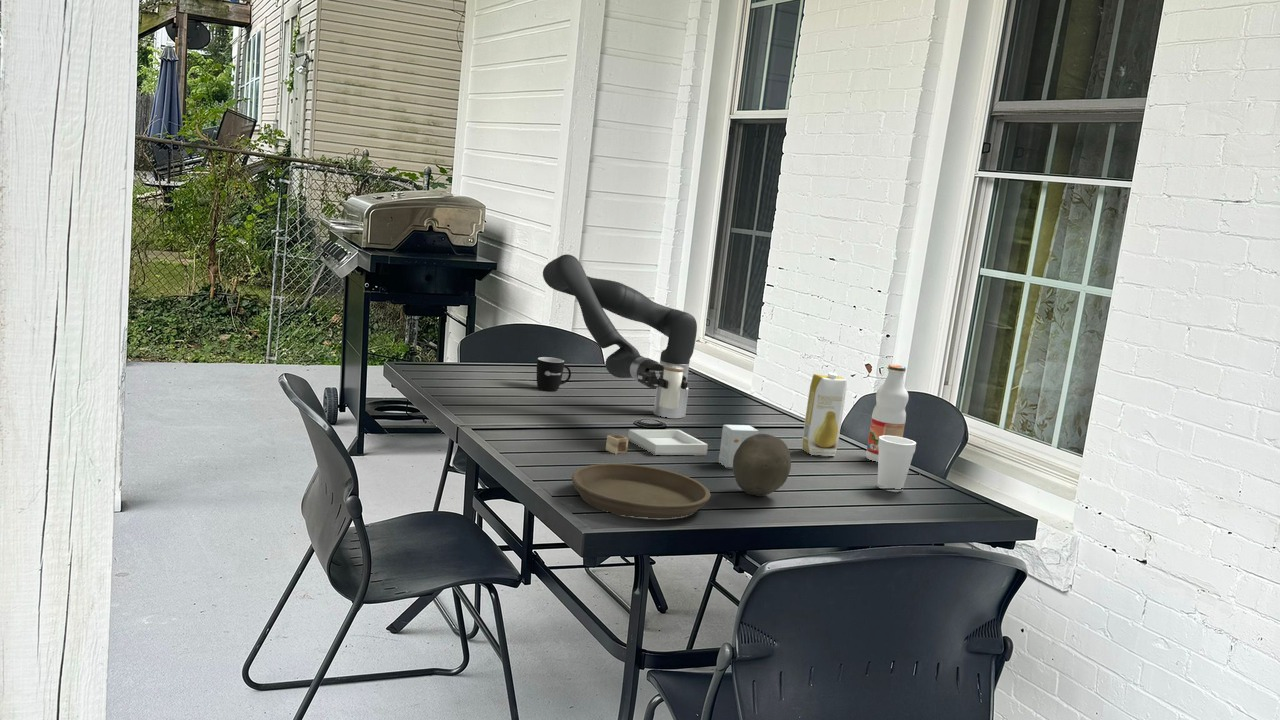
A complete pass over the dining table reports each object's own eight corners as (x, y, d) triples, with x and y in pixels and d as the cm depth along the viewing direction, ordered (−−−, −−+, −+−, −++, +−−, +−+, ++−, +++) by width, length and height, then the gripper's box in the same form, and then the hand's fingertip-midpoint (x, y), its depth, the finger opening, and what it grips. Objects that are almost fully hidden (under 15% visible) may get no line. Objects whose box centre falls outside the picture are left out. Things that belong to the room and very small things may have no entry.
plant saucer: (731, 505, 233) (733, 486, 233) (666, 536, 207) (669, 514, 206) (616, 473, 248) (618, 455, 248) (542, 498, 222) (544, 478, 221)
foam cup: (863, 484, 265) (871, 436, 263) (886, 482, 271) (894, 434, 269) (893, 495, 258) (901, 445, 256) (915, 492, 264) (923, 443, 262)
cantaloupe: (715, 491, 242) (724, 430, 240) (753, 484, 252) (761, 425, 250) (762, 508, 233) (771, 445, 230) (799, 501, 243) (808, 440, 240)
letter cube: (616, 449, 271) (618, 433, 271) (627, 453, 268) (629, 437, 268) (605, 450, 269) (607, 434, 268) (615, 454, 266) (617, 438, 265)
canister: (672, 404, 281) (677, 365, 279) (681, 409, 276) (687, 369, 275) (655, 403, 279) (660, 364, 277) (664, 408, 274) (670, 368, 272)
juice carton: (809, 456, 289) (821, 373, 285) (797, 449, 297) (809, 368, 293) (838, 458, 292) (851, 376, 288) (826, 450, 299) (839, 370, 296)
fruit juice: (895, 467, 289) (911, 370, 285) (862, 460, 293) (877, 364, 288) (900, 460, 298) (916, 367, 293) (868, 454, 301) (883, 361, 297)
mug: (538, 392, 333) (542, 361, 332) (530, 386, 341) (534, 356, 340) (573, 393, 338) (576, 363, 337) (564, 387, 346) (568, 358, 345)
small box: (744, 463, 273) (750, 425, 271) (753, 469, 268) (759, 430, 266) (717, 462, 270) (722, 423, 268) (726, 468, 265) (731, 429, 263)
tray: (677, 439, 290) (678, 429, 290) (706, 455, 276) (707, 444, 276) (627, 440, 282) (628, 429, 282) (654, 456, 269) (656, 445, 268)
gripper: (626, 358, 285) (654, 370, 270) (671, 360, 292) (701, 372, 277) (623, 384, 286) (651, 398, 271) (668, 385, 293) (697, 399, 278)
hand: (676, 385), depth 274 cm, fingers closed on canister, 5 cm apart
